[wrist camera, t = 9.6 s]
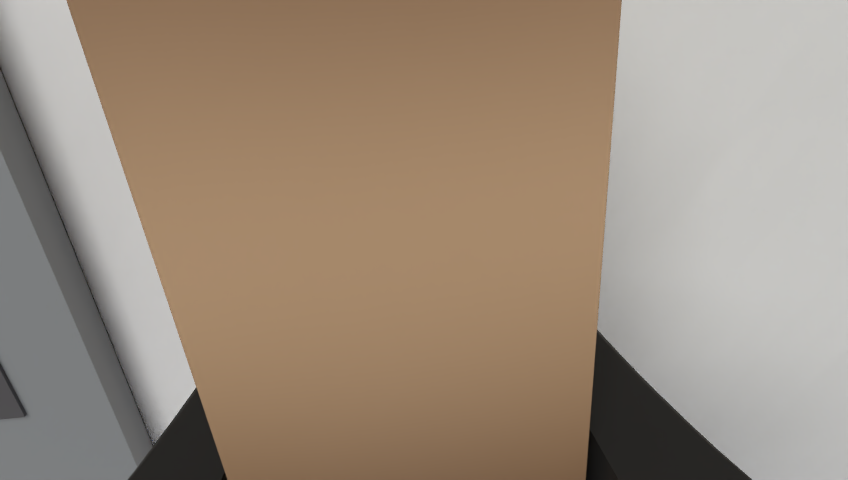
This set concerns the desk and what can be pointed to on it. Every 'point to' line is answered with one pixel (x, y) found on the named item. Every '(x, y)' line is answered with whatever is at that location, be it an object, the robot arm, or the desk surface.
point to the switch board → (53, 340)
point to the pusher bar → (373, 222)
